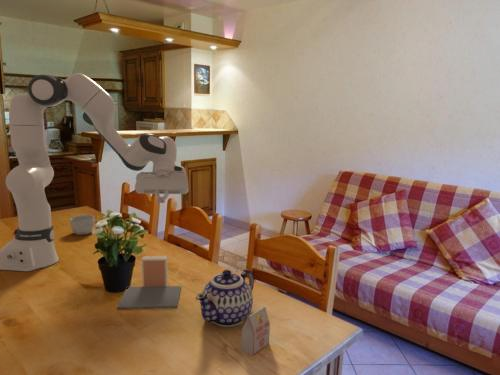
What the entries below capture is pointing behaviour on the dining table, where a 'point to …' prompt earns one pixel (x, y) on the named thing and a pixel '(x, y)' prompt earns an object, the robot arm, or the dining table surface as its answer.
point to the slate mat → (150, 297)
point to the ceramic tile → (154, 271)
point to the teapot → (227, 298)
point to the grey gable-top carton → (256, 332)
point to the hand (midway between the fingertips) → (160, 202)
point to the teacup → (82, 224)
